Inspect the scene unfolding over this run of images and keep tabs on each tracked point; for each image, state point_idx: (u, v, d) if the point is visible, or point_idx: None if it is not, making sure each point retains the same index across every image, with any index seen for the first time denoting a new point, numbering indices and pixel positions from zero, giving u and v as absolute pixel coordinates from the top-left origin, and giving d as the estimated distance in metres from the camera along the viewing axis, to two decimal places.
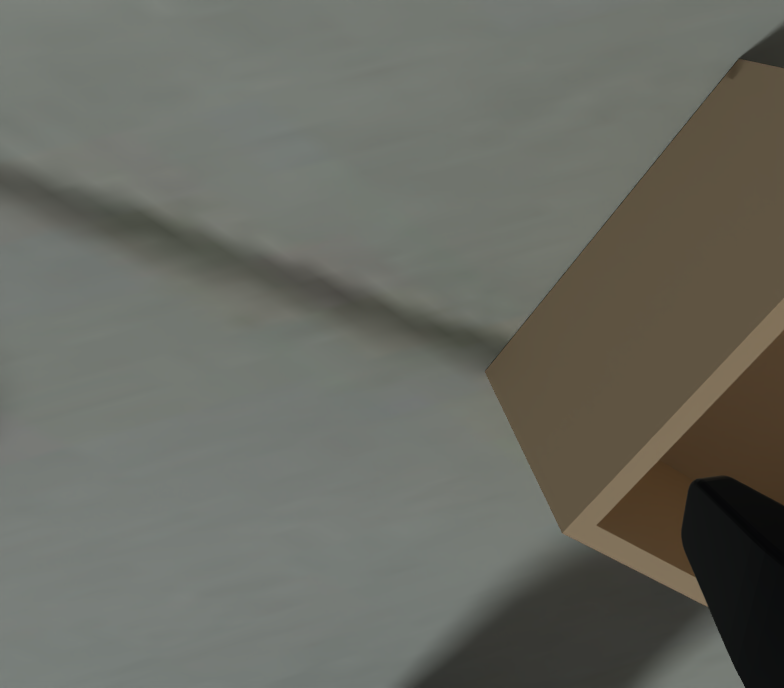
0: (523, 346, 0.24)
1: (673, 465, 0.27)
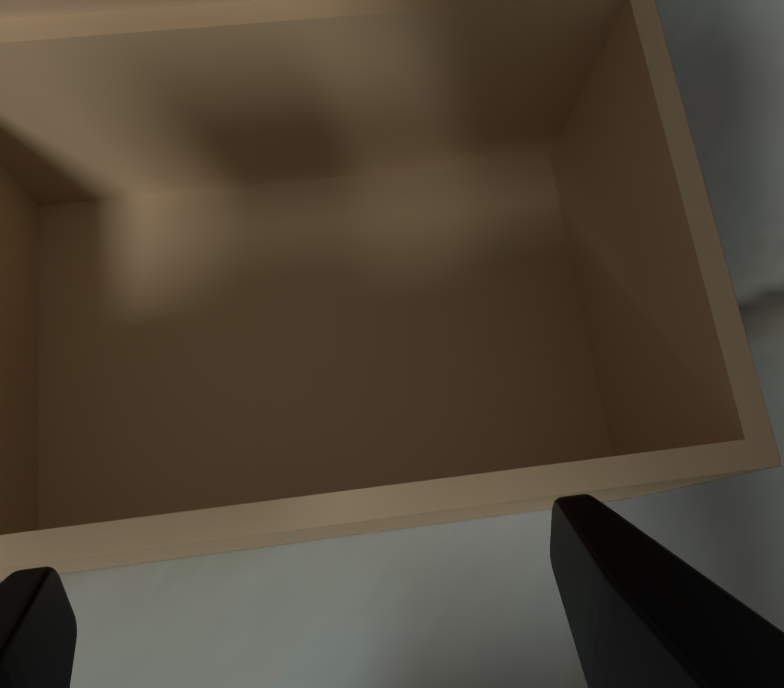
0: None
1: None
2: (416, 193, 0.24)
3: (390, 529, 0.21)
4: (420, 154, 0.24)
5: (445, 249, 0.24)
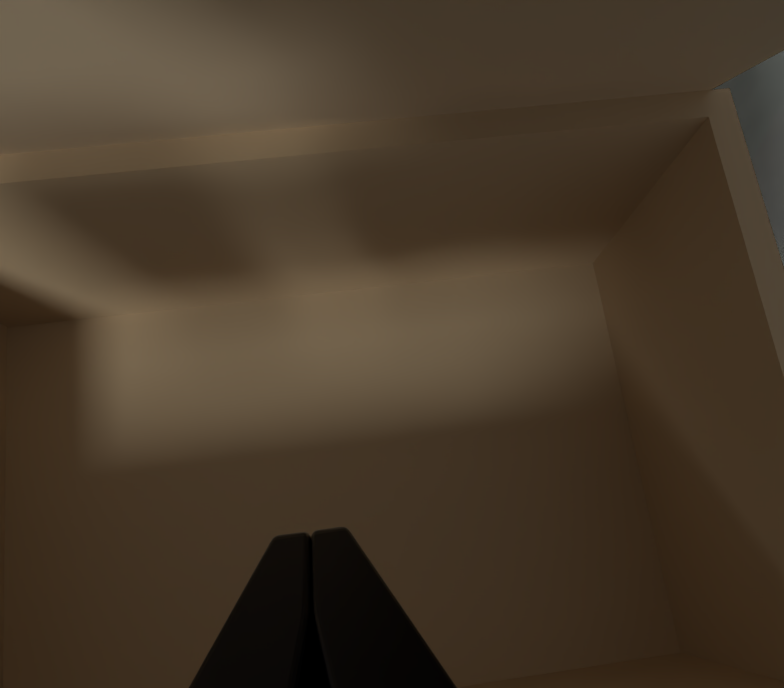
0: None
1: None
2: (441, 308, 0.21)
3: None
4: (446, 266, 0.21)
5: (475, 375, 0.21)
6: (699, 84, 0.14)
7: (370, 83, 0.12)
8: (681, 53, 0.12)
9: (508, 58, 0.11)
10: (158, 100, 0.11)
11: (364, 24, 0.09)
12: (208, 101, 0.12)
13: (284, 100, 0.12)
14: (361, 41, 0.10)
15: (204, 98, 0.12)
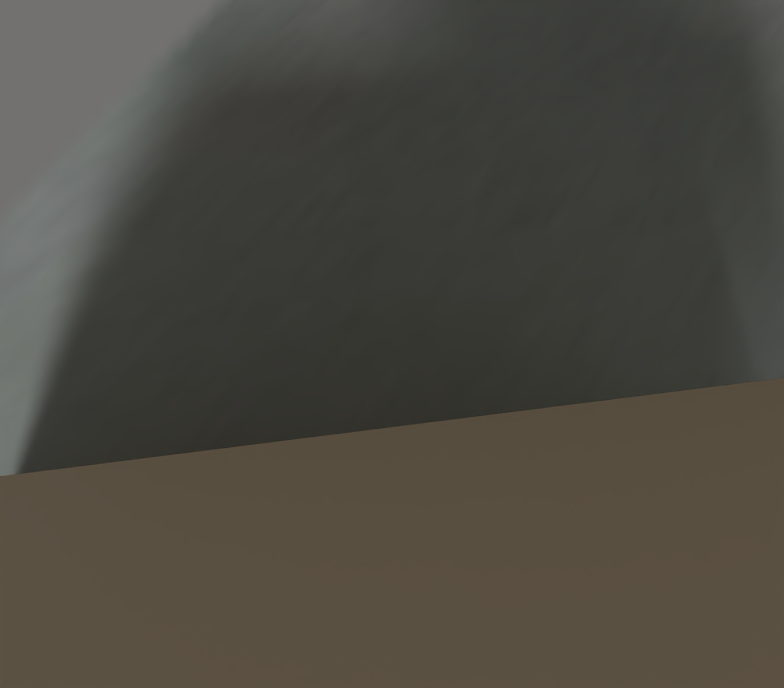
0: None
1: None
2: None
3: None
4: None
5: None
6: None
7: None
8: None
9: None
10: None
11: None
12: None
13: None
14: None
15: None
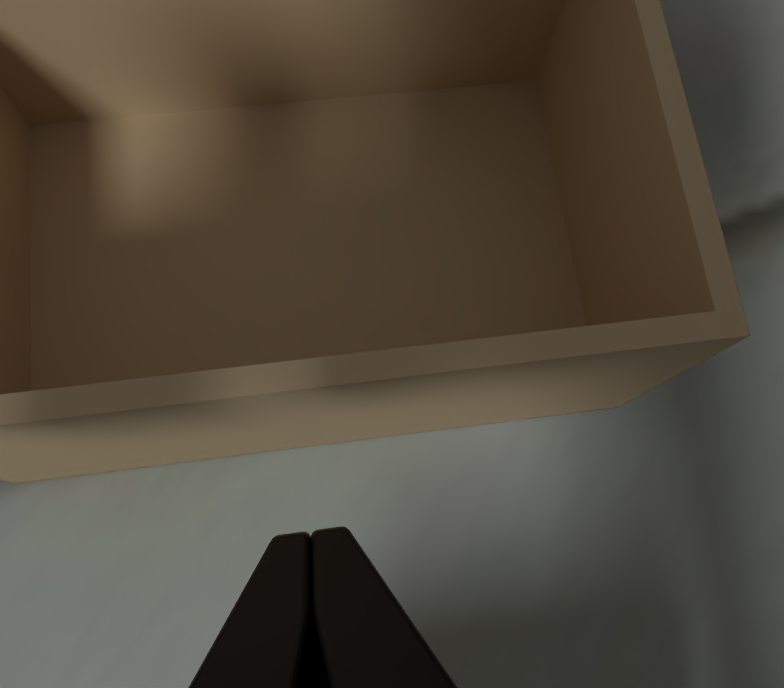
0: None
1: None
2: (403, 115, 0.25)
3: (376, 435, 0.22)
4: (406, 74, 0.24)
5: (431, 168, 0.24)
6: None
7: None
8: None
9: None
10: None
11: None
12: None
13: None
14: None
15: None
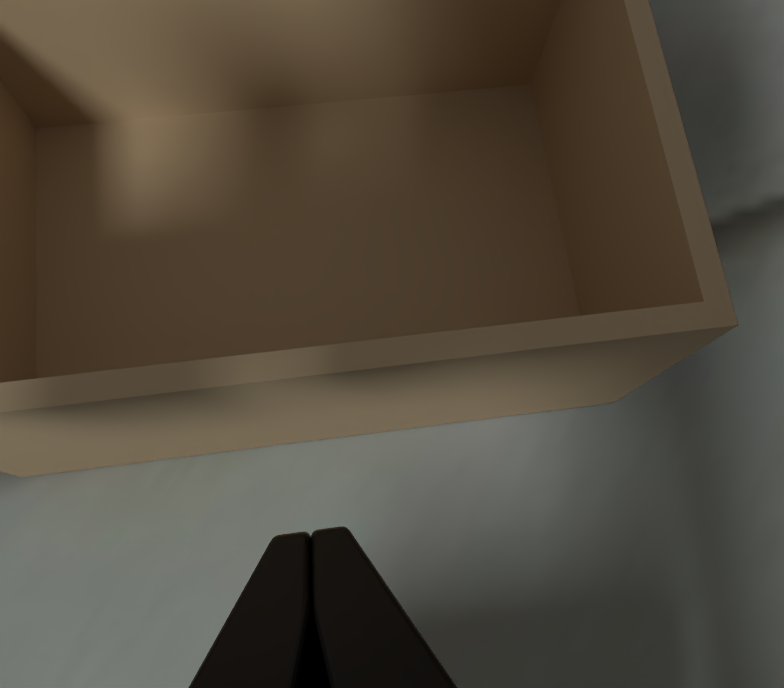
0: None
1: None
2: (401, 117, 0.25)
3: (375, 430, 0.22)
4: (404, 78, 0.24)
5: (429, 170, 0.25)
6: None
7: None
8: None
9: None
10: None
11: None
12: None
13: None
14: None
15: None
